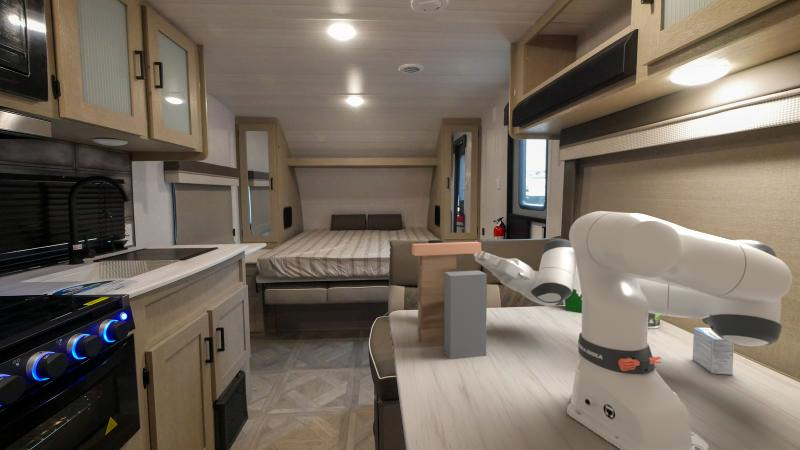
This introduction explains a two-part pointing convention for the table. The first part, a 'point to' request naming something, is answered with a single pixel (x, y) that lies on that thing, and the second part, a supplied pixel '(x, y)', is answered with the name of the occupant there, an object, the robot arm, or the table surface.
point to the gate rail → (446, 248)
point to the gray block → (465, 314)
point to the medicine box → (713, 351)
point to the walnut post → (432, 297)
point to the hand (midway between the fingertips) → (476, 252)
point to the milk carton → (575, 296)
